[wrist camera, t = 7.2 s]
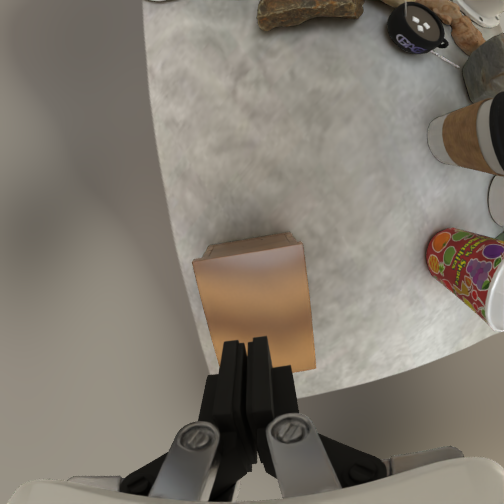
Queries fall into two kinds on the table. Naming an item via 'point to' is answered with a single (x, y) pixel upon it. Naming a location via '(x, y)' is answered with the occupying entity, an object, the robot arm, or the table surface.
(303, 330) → the lid
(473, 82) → the stone
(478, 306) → the smoothie
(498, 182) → the pill bottle
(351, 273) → the table surface
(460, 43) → the figurine
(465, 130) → the coffee cup
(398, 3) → the oil lamp
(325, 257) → the table surface
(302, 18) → the rock
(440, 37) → the mug
